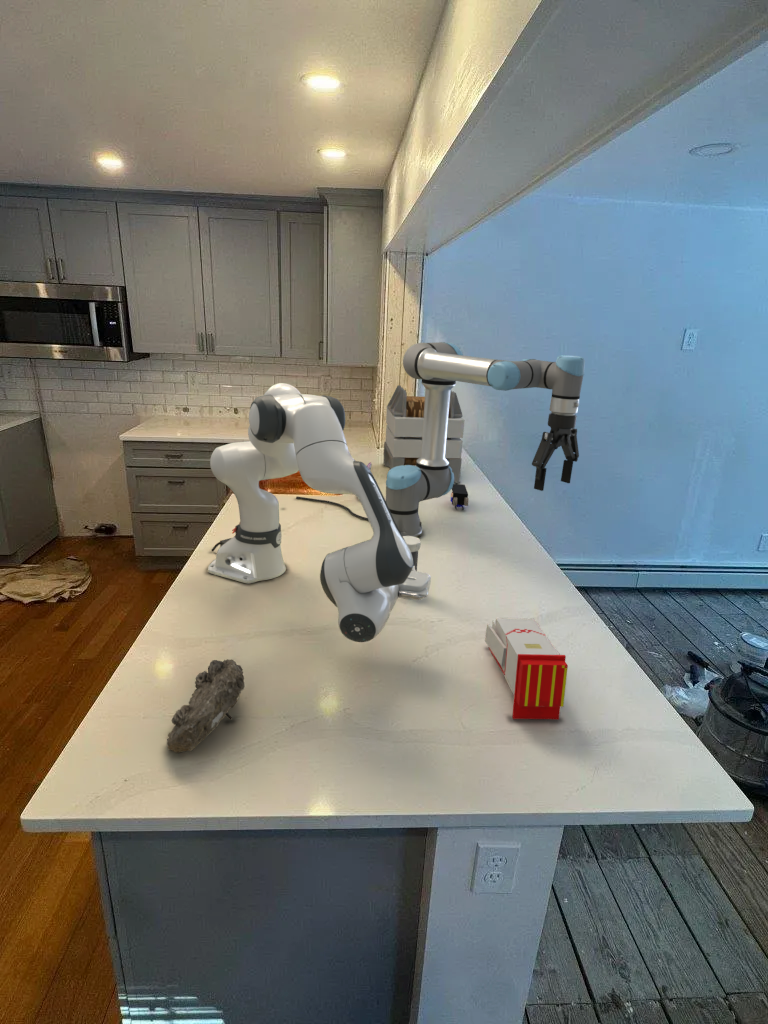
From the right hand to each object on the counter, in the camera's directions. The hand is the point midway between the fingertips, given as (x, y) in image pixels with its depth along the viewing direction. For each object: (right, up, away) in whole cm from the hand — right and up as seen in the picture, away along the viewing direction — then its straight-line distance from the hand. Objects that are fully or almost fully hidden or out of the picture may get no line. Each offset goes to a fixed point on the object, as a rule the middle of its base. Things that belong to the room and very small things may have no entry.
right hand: (552, 485), depth 166 cm
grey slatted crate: (-32, +11, +109) cm, 115 cm away
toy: (-20, -44, -42) cm, 64 cm away
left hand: (-47, -20, -32) cm, 60 cm away
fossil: (-82, -47, -57) cm, 110 cm away
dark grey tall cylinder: (-43, -30, -6) cm, 53 cm away
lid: (-42, -16, -12) cm, 47 cm away
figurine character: (-19, -5, +66) cm, 69 cm away
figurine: (-56, -2, +70) cm, 90 cm away
